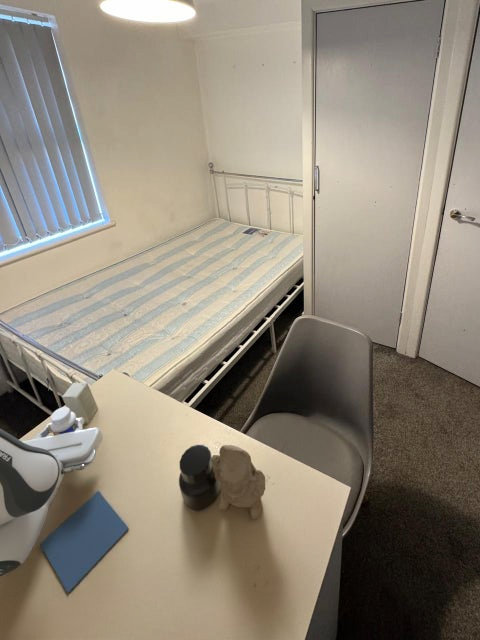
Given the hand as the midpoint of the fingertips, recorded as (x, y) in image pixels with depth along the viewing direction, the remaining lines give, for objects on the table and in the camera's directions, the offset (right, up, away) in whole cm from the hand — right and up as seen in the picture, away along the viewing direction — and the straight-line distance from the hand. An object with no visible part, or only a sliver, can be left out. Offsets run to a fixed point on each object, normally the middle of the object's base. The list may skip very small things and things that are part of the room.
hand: (66, 421), depth 84 cm
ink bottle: (+38, -13, -7) cm, 41 cm away
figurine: (+48, -14, -10) cm, 51 cm away
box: (-2, -5, +11) cm, 12 cm away
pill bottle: (0, -6, +2) cm, 6 cm away
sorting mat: (+15, -16, -15) cm, 27 cm away
